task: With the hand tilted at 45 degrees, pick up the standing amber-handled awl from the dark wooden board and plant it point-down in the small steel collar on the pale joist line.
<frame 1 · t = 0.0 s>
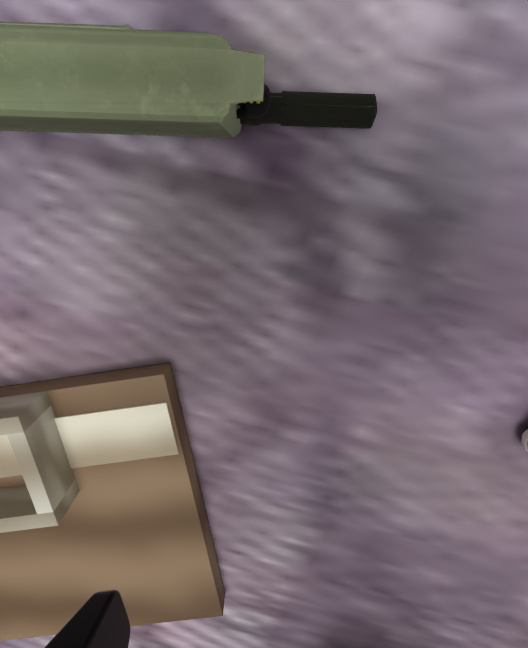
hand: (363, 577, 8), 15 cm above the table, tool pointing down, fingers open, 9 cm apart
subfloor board: (10, 513, 25), on the table
handheld radio: (90, 108, 19), on the table
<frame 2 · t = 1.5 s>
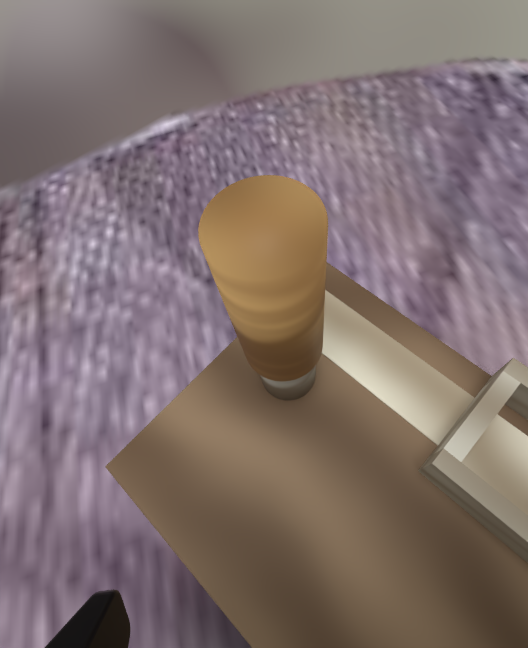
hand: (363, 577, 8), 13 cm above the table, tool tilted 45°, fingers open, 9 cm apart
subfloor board: (394, 515, 20), on the table
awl: (288, 373, 22), point 1 cm above the table, touching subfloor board
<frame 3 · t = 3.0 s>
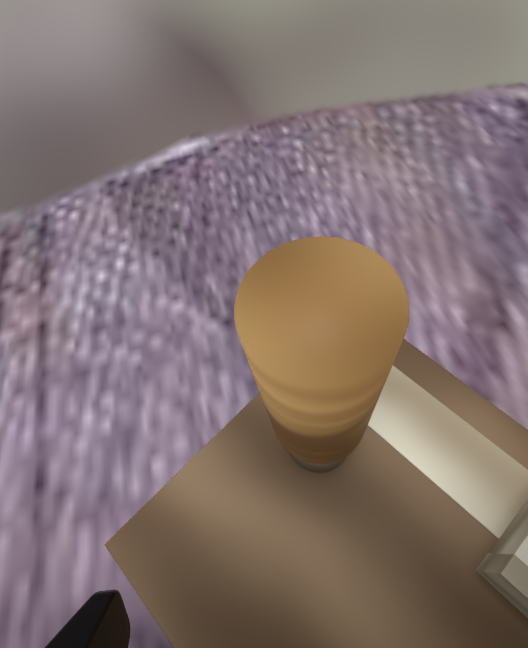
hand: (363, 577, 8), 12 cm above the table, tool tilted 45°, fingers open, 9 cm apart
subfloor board: (444, 619, 17), on the table
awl: (318, 439, 19), point 1 cm above the table, touching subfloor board
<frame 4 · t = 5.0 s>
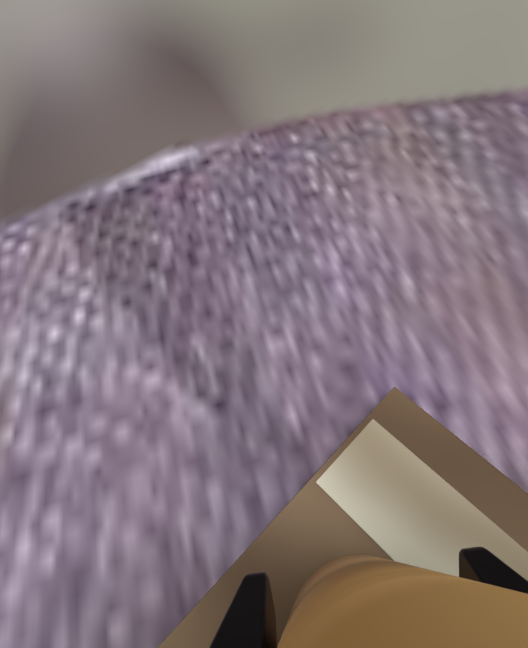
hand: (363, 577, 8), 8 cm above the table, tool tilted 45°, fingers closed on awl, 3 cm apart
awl: (352, 615, 13), point 2 cm above the table, touching gripper, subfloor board
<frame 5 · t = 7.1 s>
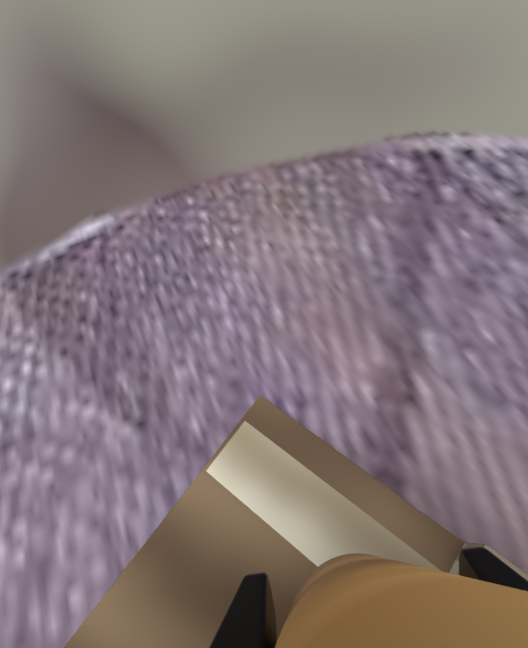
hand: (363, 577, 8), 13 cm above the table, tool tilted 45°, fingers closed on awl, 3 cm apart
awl: (351, 614, 13), point 7 cm above the table, touching gripper
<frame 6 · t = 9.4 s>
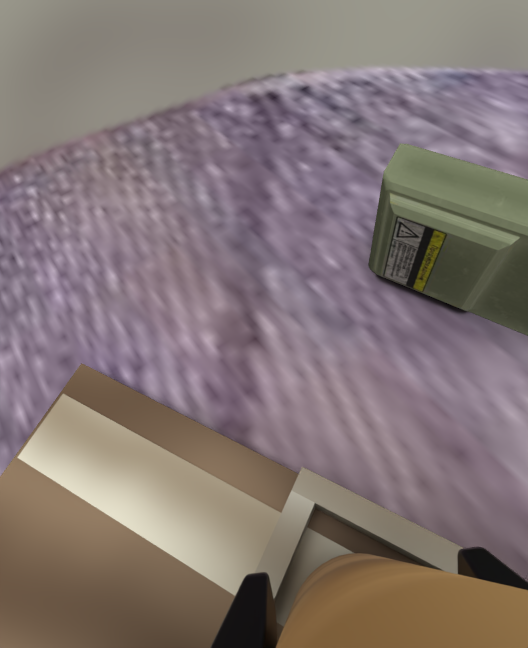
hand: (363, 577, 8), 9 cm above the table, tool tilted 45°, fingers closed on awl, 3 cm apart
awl: (352, 614, 13), point 3 cm above the table, touching gripper
when the fingers open (9 cm above the table, at t = 9.4 s): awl drops 1 cm, resting on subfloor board.
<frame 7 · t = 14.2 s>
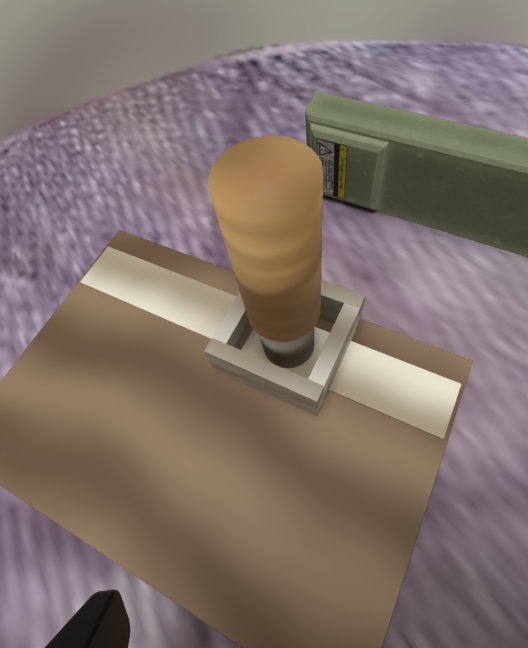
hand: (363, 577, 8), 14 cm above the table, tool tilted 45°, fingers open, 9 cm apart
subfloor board: (210, 413, 23), on the table
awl: (288, 344, 23), point 2 cm above the table, touching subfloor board
handheld radio: (489, 236, 27), on the table
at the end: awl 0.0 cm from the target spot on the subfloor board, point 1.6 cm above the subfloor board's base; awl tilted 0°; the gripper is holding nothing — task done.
